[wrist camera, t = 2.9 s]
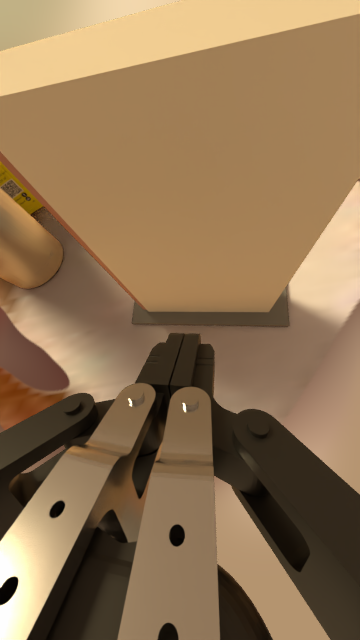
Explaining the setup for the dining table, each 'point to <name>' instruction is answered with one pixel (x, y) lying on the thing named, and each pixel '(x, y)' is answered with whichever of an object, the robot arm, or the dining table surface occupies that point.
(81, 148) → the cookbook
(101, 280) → the dining table surface
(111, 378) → the dining table surface
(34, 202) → the food package
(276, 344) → the dining table surface
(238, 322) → the mat
